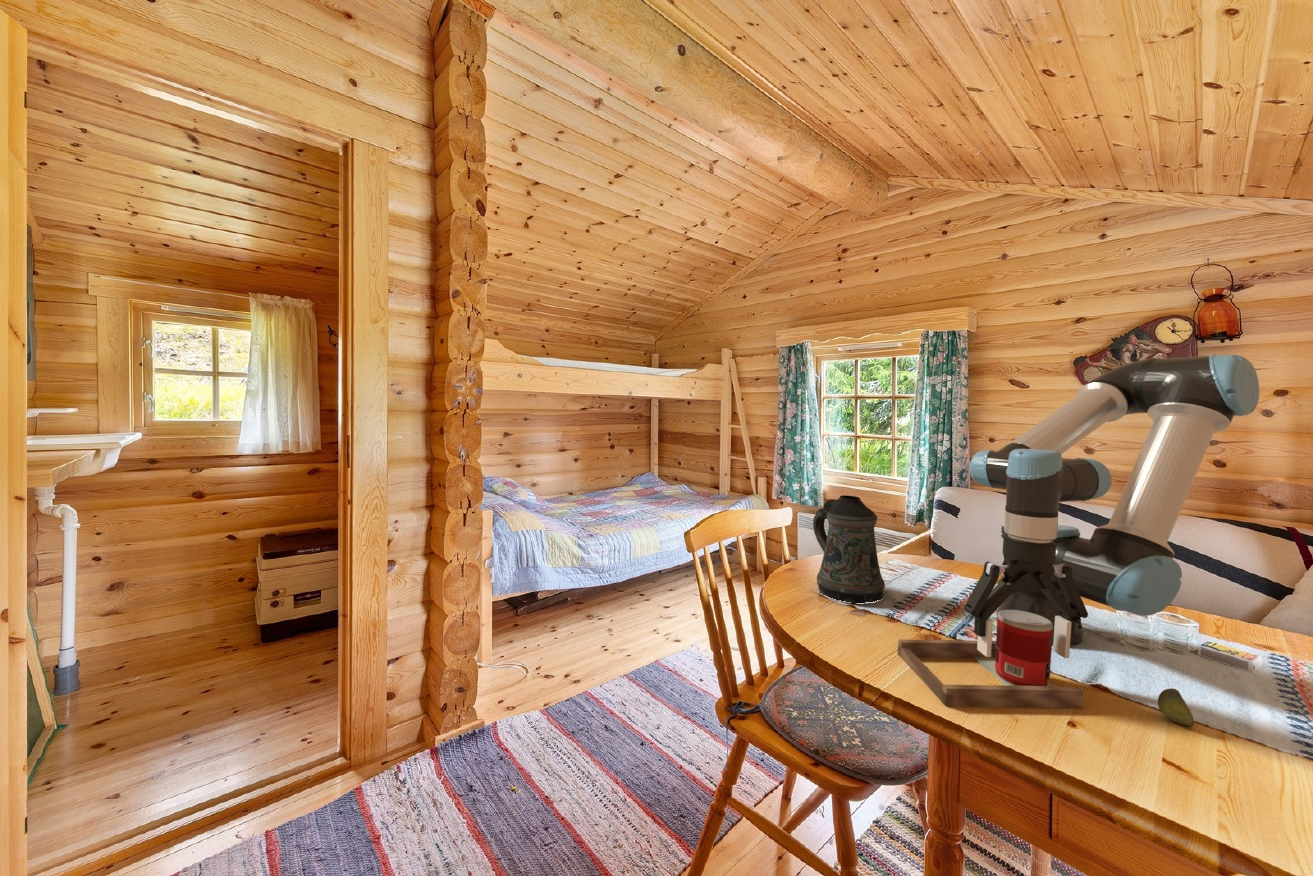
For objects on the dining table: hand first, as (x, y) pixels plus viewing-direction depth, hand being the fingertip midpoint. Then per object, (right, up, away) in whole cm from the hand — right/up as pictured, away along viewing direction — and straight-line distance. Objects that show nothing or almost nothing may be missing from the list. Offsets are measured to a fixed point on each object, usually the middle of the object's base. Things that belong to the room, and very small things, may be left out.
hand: (1022, 654), depth 90 cm
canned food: (0, -5, 0) cm, 5 cm away
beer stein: (-16, -2, +42) cm, 45 cm away
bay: (-7, -5, 0) cm, 8 cm away
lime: (+16, -6, -11) cm, 20 cm away
